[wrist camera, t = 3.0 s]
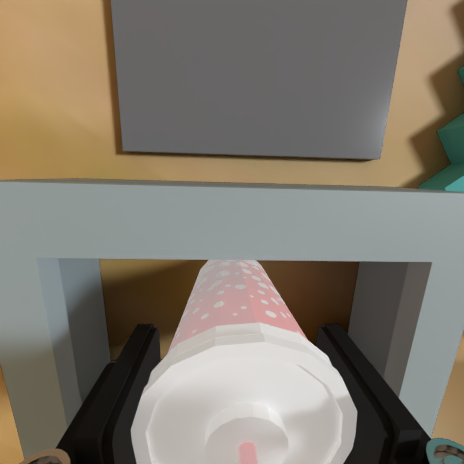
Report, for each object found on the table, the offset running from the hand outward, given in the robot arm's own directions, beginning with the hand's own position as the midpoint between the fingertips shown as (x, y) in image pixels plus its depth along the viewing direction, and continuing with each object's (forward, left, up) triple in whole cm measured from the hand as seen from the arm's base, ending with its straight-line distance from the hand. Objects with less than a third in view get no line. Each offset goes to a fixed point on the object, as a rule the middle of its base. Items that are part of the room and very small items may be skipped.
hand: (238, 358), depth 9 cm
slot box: (0, 0, -6) cm, 6 cm away
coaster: (-1, -15, -6) cm, 16 cm away
